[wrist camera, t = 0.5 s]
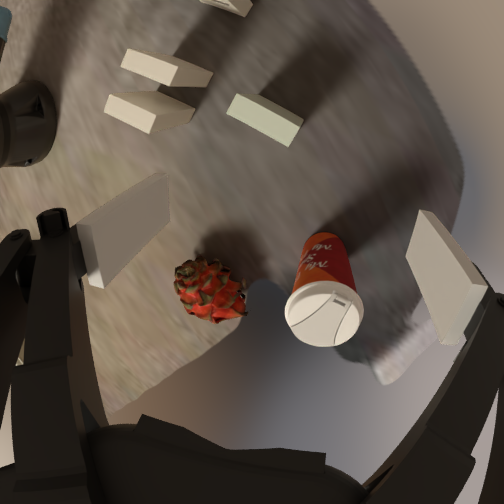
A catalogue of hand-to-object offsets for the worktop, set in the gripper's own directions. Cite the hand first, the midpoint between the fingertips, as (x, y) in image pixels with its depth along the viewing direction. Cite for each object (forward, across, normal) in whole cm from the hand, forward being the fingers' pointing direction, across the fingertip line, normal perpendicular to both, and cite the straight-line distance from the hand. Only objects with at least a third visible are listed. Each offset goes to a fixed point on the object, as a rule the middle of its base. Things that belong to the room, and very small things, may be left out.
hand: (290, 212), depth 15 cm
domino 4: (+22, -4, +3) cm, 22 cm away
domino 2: (+22, -16, +4) cm, 28 cm away
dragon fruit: (+22, -10, -20) cm, 31 cm away
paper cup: (+22, +4, -13) cm, 26 cm away
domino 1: (+22, -14, +8) cm, 27 cm away
